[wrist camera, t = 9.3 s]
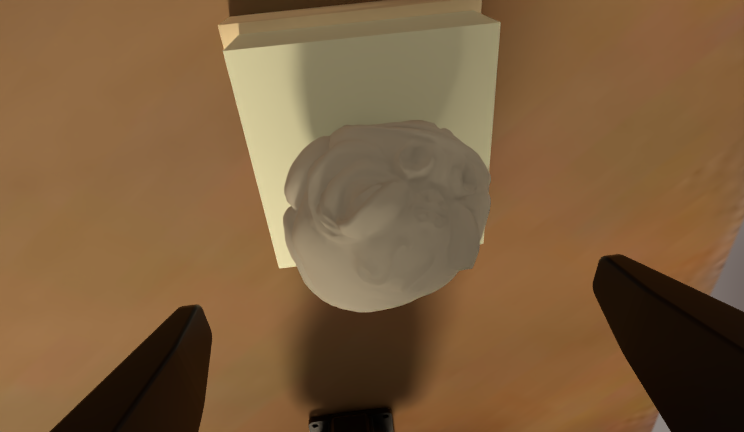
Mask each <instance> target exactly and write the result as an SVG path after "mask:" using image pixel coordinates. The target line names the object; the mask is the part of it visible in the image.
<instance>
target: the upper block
mask: <svg viewBox="0 0 744 432" xmlns="http://www.w3.org/2000/svg"><path fill="white" fill-rule="evenodd" d="M500 25H501V22H499V21H497V20H494V19H492V18H490V17H487V16H485V15H483V14H481V13H478V12H476V11H474V10H473V11H463V12H453V13H444V14H434V15H424V16H414V17H404V18H395V19H385V20H375V21H365V22H355V23H346V24H336V25H326V26H316V27H307V28H297V29H287V30H277V31H267V32H258V33H248V34H239V35H238V36H237V37H236V38H235V39H234V40H233V41H232V42H231V43H230V44H229V45H228V46H227V47H226V48H225V49H224V50H223V53H224V57H225V61H226V65H227V69H228V73H229V77H230V80H231V84H232V88H233V92H234V96H235V100H236V104H237V107H238V111H239V115H240V119H241V123H242V127H243V131H244V134H245V138H246V142H247V146H248V150H249V154H250V158H251V162H252V165H253V169H254V173H255V177H256V181H257V185H258V189H259V192H260V196H261V200H262V204H263V208H264V212H265V216H266V219H267V223H268V227H269V231H270V235H271V239H272V243H273V246H274V250H275V254H276V258H277V262H278V266H279V268H286V267H295V266H296V264H295V262H294V261H293V259H292V258H291V255H290V253H289V251H288V248H287V246H286V242H285V234H284V226H283V216H284V213H285V211H286V210H287V209H288V207H290V206H291V205H290V204H289V203H288V202H287V200H286V197H285V194H284V186H285V182H286V179H287V175H288V172H289V169H290V167H291V165H292V163H293V162H294V160H295V159H296V158H297V156H298V155H299V154H300V152H301V151H302V150H303V149H304V148H305V147H306V146H307V145H308V144H310V143H311V142H312V141H314V140H316V139H317V138H319V137H322V136H330V135H331V134H332V133H333V132H334V131H336V130H337V129H339V128H342V126H344V125H374V124H383V123H392V122H403V121H409V120H423V121H427V122H431V123H435V125H436V126H437V127H438V128H440V129H441V128H446V129H448V130H450V131H451V132H452V133H453V135H454V136H455V137H457V138H458V139H459V140H461V141H462V142H463V143H464V144H466V145H467V146H469V147H470V148H472V149H473V150H474V151H475V152H476V153H477V154H478V155H479V156H480V158H481V159H482V161H483V162H484V164H485V165H486V167H487V169H488V171H489V165H490V152H491V139H492V127H493V114H494V101H495V88H496V76H497V63H498V50H499V37H500ZM484 229H485V228H484ZM483 241H484V232H483V235H482V238H481V240H480V244H483Z"/></svg>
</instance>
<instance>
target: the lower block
mask: <svg viewBox="0 0 744 432" xmlns="http://www.w3.org/2000/svg"><path fill="white" fill-rule="evenodd" d="M481 7H482V0H382V1H373V2H363V3H354V4H344V5H335V6H325V7H316V8H306V9H297V10H287V11H278V12H268V13H259V14H249V15H240V16H230V17H228V18H227V19H226V20H224V21H223V22H222V23H220V24H219V25H218V28H219V32H220V36H221V39H222V43H223V47H224V49H225V48H226V47H227V46H228V45H229V44H230V43H231V42H232V41H233V40H234V39H235V38H236V37H237V36H238V35H239V34H248V33H258V32H267V31H277V30H287V29H297V28H307V27H316V26H326V25H336V24H346V23H355V22H365V21H375V20H385V19H395V18H404V17H414V16H424V15H434V14H444V13H453V12H463V11H473V10H474V11H476V12H478V13H481Z"/></svg>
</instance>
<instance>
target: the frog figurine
mask: <svg viewBox="0 0 744 432" xmlns="http://www.w3.org/2000/svg"><path fill="white" fill-rule="evenodd" d="M490 182H491V176H490V173H489V171H488V169H487V167H486V165H485V164H484V162H483V161H482V159H481V158H480V156H479V155H478V154H477V153H476V152H475V151H474V150H473V149H472V148H470V147H469V146H467V145H466V144H464V143H463V142H462V141H461V140H459V139H458V138H457V137H455V136H454V135H453V133H452V132H451V131H450V130H448V129H446V128H441V129H440V128H438V127H437V126H436V125H435V123H431V122H427V121H423V120H409V121H403V122H392V123H383V124H374V125H344V126H342V128H339V129H337V130H336V131H334V132H333V133H332V134H331V135H330V136H322V137H319V138H317V139H316V140H314V141H312V142H311V143H310V144H308V145H307V146H306V147H305V148H304V149H303V150H302V151H301V152H300V154H299V155H298V156H297V158H296V159H295V160H294V162H293V163H292V165H291V167H290V169H289V172H288V175H287V179H286V182H285V186H284V194H285V197H286V200H287V202H288V203H289V204H290V205H291V206H290V207H288V209H287V210H286V211H285V213H284V216H283V226H284V234H285V242H286V246H287V248H288V251H289V253H290V255H291V258H292V259H293V261H294V262H295V264H296V266H297V268H298V270H299V273H300V275H301V277H302V279H303V281H304V283H305V284H306V285H307V286H308V288H309V289H310V290H311V291H312V292H313V293H314V294H315V295H317V296H318V297H319V298H320V299H322V300H323V301H324V302H327V303H329V304H330V305H331V306H336V307H338V308H341V309H346V310H350V311H355V312H359V313H361V312H375V311H379V310H381V311H382V310H386V309H390V308H395V307H398V306H402V305H404V304H406V303H410V302H412V301H413V300H415V299H417V298H420V297H422V296H425V295H429V294H431V293H433V292H435V291H437V290H439V289H440V288H441V287H443V286H445V285H446V284H447V283H448V282H449V281H451V280H452V279H453V277H455V276H456V273H458V271H460V270H465V269H472V268H473V266H474V263H475V260H476V258H477V255H478V252H479V246H480V240H481V238H482V235H483V232H484V228H485V225H486V222H487V218H488V214H489V211H490V204H491V200H490V196H489V185H490Z"/></svg>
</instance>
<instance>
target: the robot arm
mask: <svg viewBox="0 0 744 432" xmlns="http://www.w3.org/2000/svg"><path fill="white" fill-rule="evenodd" d="M593 291H594V294H595V296H596V298H597V301H598V303H599V305H600V307H601V309H602V311H603V313H604V315H605V317H606V319H607V322H608V324H609V326H610V328H611V330H612V332H613V334H614V336H615V338H616V340H617V342H618V344H619V346H620V348H621V350H622V352H623V354H624V356H625V357H626V359H627V361H628V362H629V364H630V366H631V367H632V369H633V371H634V372H635V374H636V375H637V377H638V379H639V380H640V382H641V384H642V385H643V387H644V389H645V390H646V392H647V393H648V395H649V397H650V398H651V400H652V402H653V403H654V405H655V406H656V408H657V410H658V411H659V413H660V415H661V416H662V418H663V419H664V421H665V422H666V424H667V426H668V428H669V429H670V431H671V432H744V312H743V311H741V310H739V309H736V308H734V307H732V306H730V305H728V304H726V303H724V302H721V301H719V300H717V299H715V298H713V297H711V296H709V295H707V294H705V293H702V292H700V291H698V290H696V289H694V288H692V287H690V286H688V285H685V284H683V283H681V282H679V281H677V280H675V279H673V278H670V277H668V276H666V275H664V274H662V273H660V272H658V271H656V270H653V269H651V268H649V267H647V266H645V265H643V264H641V263H639V262H636V261H634V260H632V259H630V258H628V257H626V256H624V255H620V254H616V255H607V256H603V257H601V259H600V260H599V263H598V266H597V270H596V273H595V277H594V280H593ZM211 344H212V333H211V329H210V326H209V324H208V321H207V319H206V316H205V314H204V311H203V309H202V307H201V306H200V305H188V306H182V307H179V308H178V309H177V310H176V311H175V312H174V313H173V314H172V315H170V316H169V317H168V318H167V319H166V320H165V321H164V322H163V323H162V324H161V325H160V326H159V327H158V328H157V329H156V330H155V331H154V332H153V333H152V334H151V335H150V336H149V337H148V338H147V339H146V340H144V341H143V342H142V343H141V344H140V345H139V346H138V347H137V348H136V349H135V350H134V351H133V352H132V353H131V354H130V355H129V356H128V357H127V358H126V359H125V360H124V361H123V362H122V363H121V364H120V365H118V366H117V367H116V368H115V369H114V370H113V371H112V372H111V373H110V374H109V375H108V376H107V377H106V378H105V379H104V380H103V381H102V382H101V383H100V384H99V385H98V386H97V387H96V388H95V389H94V390H92V391H91V392H90V393H89V394H88V395H87V396H86V397H85V398H84V399H83V400H82V401H81V402H80V403H79V404H78V405H77V406H76V407H75V408H74V409H73V410H72V411H71V412H70V413H69V414H68V415H66V416H65V417H64V418H63V419H62V420H61V421H60V422H59V423H58V424H57V425H56V426H55V427H54V428H53V429H52V430H51V431H50V432H198V430H199V426H200V422H201V418H202V413H203V408H204V402H205V395H206V386H207V378H208V369H209V361H210V353H211ZM309 430H310V432H393V421H392V412H391V409H389V408H381V409H373V410H366V411H358V412H350V413H343V414H335V415H328V416H320V417H313V418H311V419H310V420H309Z"/></svg>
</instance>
